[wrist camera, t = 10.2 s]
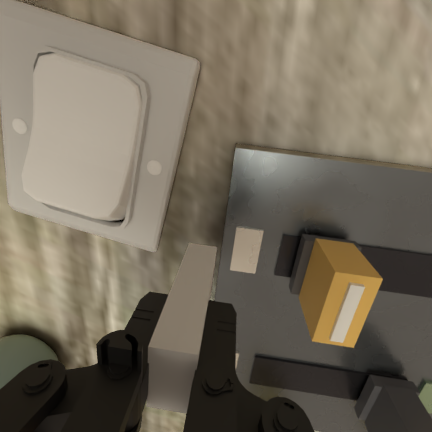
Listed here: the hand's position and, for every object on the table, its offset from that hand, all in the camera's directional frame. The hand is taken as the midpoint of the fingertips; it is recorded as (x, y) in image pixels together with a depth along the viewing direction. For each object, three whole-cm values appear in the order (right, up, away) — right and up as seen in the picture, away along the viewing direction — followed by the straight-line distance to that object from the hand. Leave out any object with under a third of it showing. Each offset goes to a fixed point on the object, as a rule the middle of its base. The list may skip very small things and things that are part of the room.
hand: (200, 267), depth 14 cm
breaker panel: (+10, -4, +6) cm, 12 cm away
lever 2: (+13, -10, +5) cm, 17 cm away
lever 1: (+7, 0, +2) cm, 7 cm away
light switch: (-7, +8, +3) cm, 11 cm away
